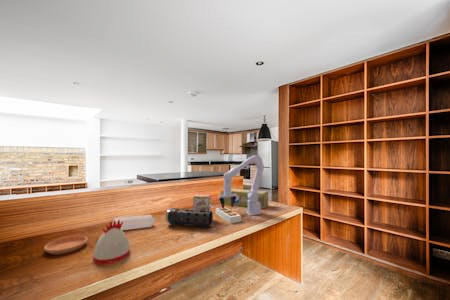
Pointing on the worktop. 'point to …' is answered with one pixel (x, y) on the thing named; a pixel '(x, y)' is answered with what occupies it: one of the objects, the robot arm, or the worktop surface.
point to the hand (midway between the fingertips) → (227, 207)
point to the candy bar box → (201, 202)
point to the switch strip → (228, 216)
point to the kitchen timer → (111, 245)
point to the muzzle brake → (189, 217)
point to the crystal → (135, 222)
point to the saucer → (65, 245)
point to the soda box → (246, 198)
